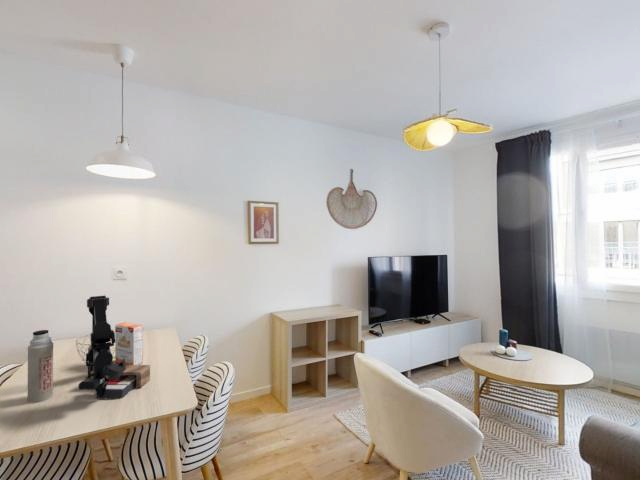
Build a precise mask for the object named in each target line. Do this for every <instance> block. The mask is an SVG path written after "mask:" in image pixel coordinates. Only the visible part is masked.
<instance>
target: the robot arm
mask: <svg viewBox="0 0 640 480" xmlns="http://www.w3.org/2000/svg"><path fill="white" fill-rule="evenodd" d="M108 306H110V297H106V295H95V296H89V298H88V299H86V308H88V312H89V313H90V314H91V316H92V318H91V321H92V322H91V323H92V324H91V326H92V327H91V332H90V338H89V339H90V345H89V346H88V348H87V353H85V367H87V376H85V379H83V380H82V381H79V383H78V388H77V389H78V390H80V391H81V390H82V391H84V390H87V391H88V390H90V391H91V390H94V391H95V393H97V394H98V396H99V397H103V396H104V393H105V390H106V387H107V384H108V382H109V381H110V380H111V379H112V378H115V379H117V378H119V377H120V376H122V374H123V372H124V370H126V364H125V362H123V361H122V362H120V363H114V360H113V359H114V358H113V357H114V356H113V353H112V351H111V347H115V331H114V330H113V329H112V326H111V324H109V323H108V320H107V312H106V311H107V310H108ZM92 371H93V373H92V374H91V372H92ZM92 376H94V378H91V377H92Z"/></svg>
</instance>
